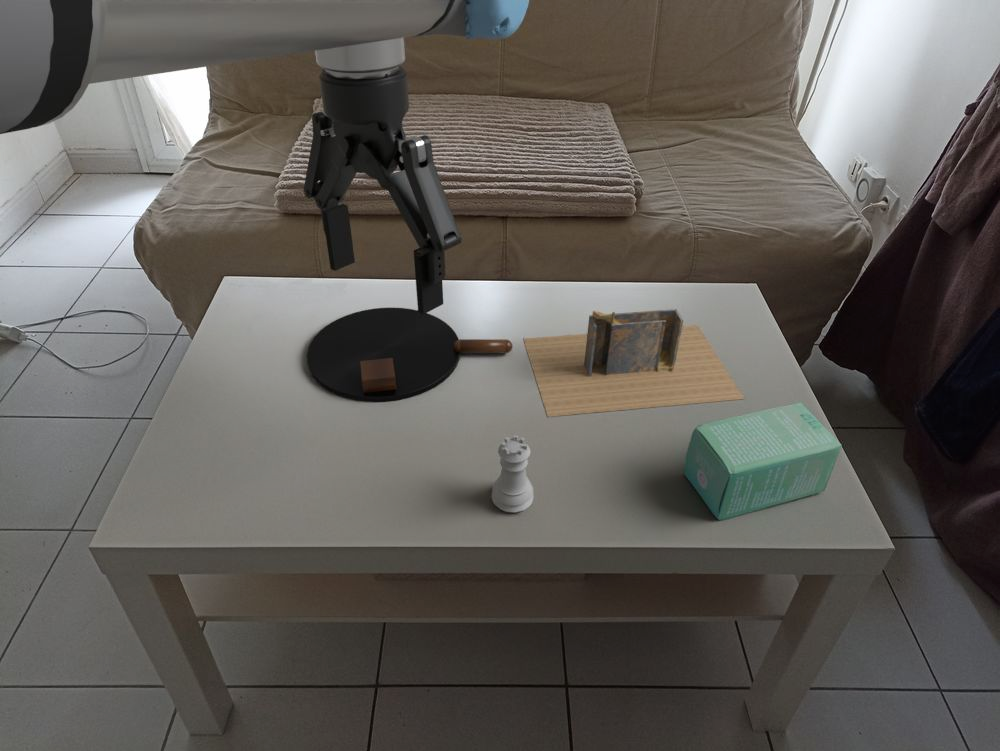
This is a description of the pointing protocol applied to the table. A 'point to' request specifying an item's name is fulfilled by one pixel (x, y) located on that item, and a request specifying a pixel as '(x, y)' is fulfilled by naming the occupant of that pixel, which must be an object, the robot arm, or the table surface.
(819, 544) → the table surface
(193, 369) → the table surface
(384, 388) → the block
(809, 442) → the box
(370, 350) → the pan
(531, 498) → the rook chess piece
